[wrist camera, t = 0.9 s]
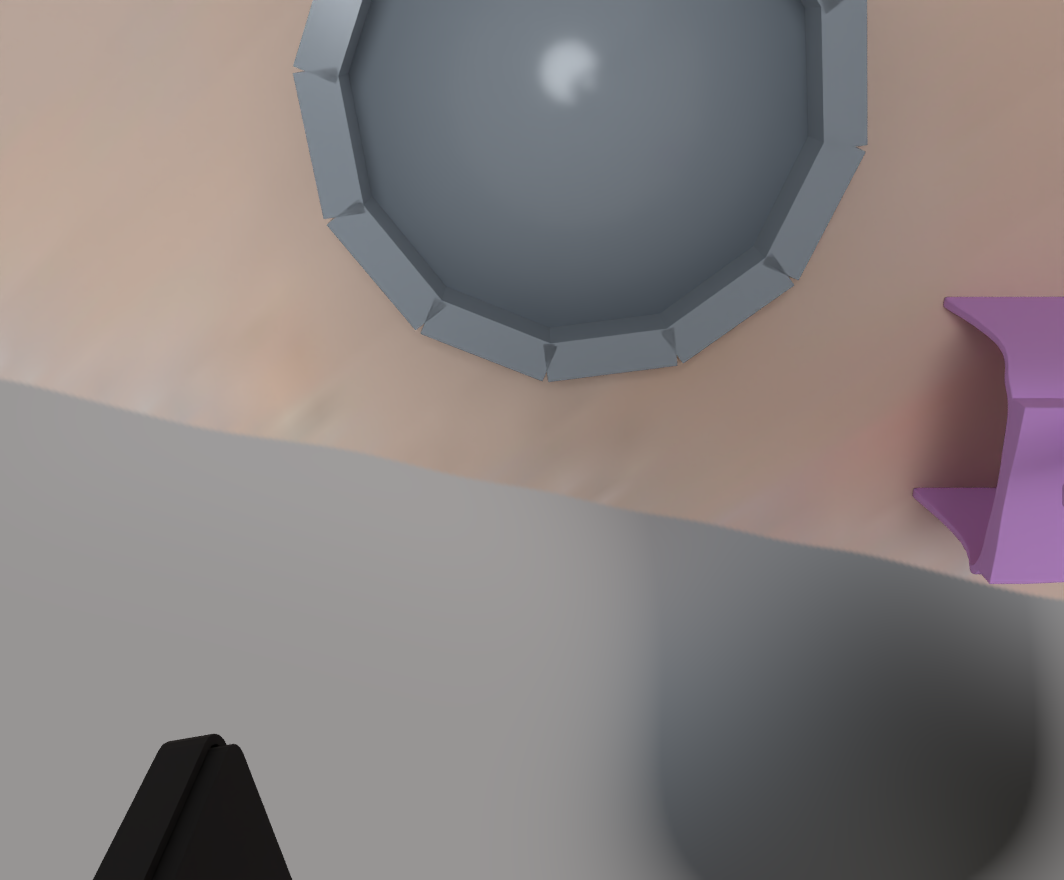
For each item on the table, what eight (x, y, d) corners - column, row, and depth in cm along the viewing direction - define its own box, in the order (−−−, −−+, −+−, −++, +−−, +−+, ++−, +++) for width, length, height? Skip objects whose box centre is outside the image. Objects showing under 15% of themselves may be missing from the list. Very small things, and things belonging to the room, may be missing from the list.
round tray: (425, -306, 30) (415, -340, 27) (938, -53, 33) (976, -61, 30) (256, 243, 37) (234, 261, 34) (698, 417, 39) (711, 447, 37)
